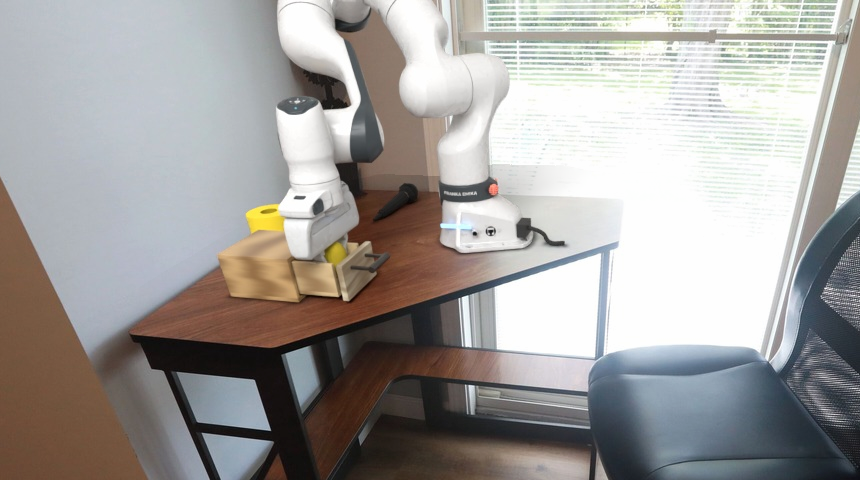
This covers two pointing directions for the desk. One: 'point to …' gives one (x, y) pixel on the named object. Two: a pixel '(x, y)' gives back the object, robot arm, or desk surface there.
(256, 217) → the tape roll
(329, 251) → the lemon
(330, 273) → the drawer
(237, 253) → the cabinet
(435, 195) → the desk surface
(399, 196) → the microphone
